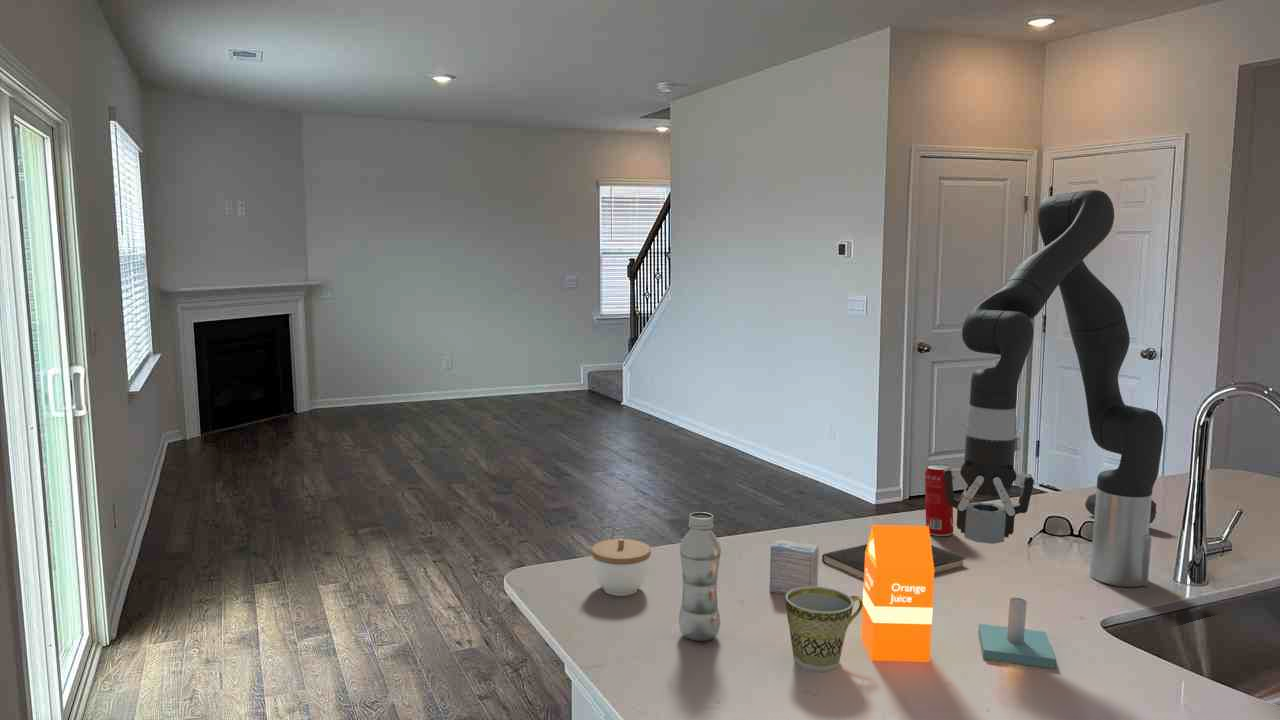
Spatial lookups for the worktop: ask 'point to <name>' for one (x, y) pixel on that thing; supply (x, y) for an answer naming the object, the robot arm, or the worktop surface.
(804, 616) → the ceramic cup
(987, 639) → the shaft stand
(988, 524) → the tube
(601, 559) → the lidded jar
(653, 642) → the worktop surface
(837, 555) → the hardcover book
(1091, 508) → the perforated stone tool
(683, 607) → the plastic bottle
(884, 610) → the orange juice
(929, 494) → the beverage can
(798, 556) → the medicine box
